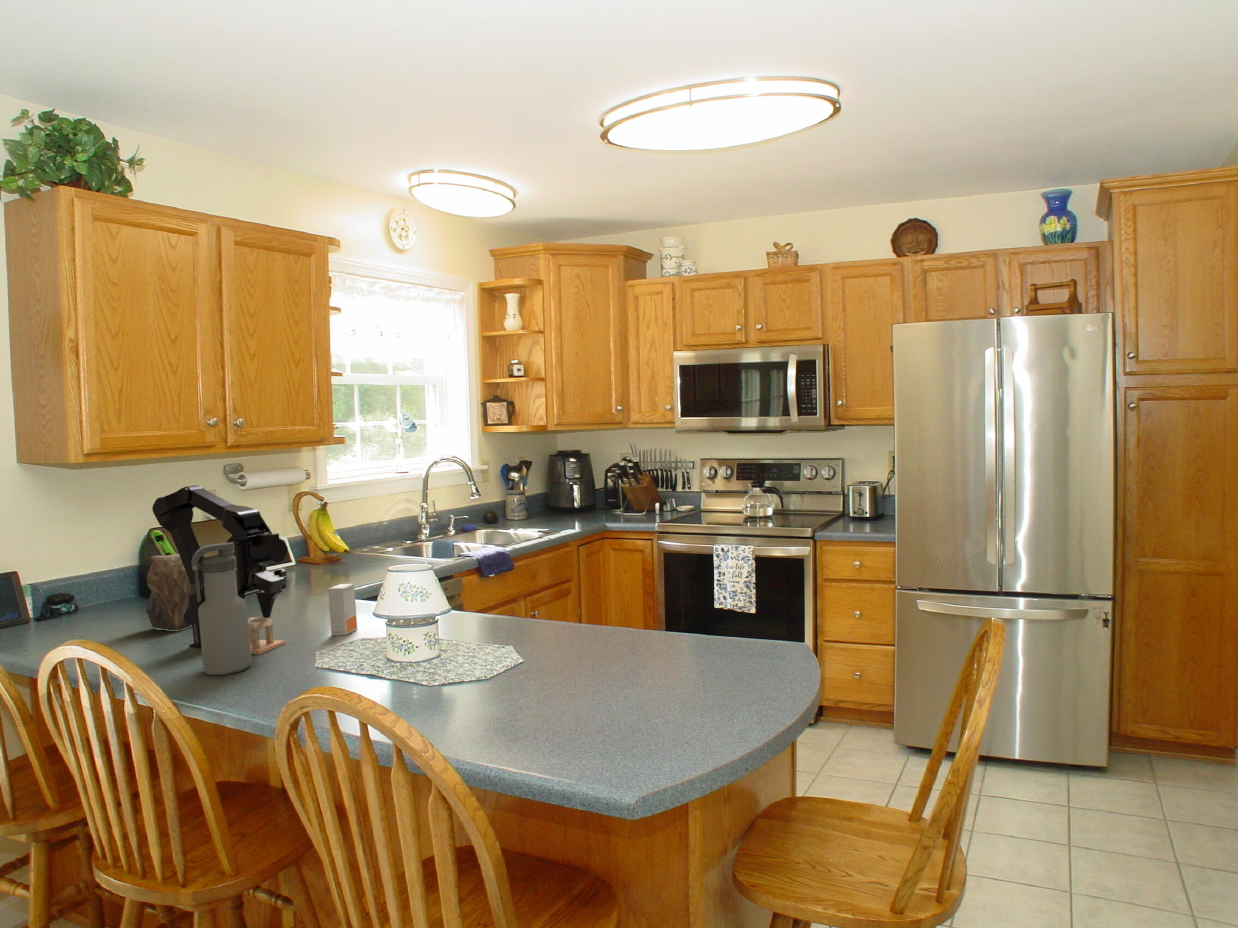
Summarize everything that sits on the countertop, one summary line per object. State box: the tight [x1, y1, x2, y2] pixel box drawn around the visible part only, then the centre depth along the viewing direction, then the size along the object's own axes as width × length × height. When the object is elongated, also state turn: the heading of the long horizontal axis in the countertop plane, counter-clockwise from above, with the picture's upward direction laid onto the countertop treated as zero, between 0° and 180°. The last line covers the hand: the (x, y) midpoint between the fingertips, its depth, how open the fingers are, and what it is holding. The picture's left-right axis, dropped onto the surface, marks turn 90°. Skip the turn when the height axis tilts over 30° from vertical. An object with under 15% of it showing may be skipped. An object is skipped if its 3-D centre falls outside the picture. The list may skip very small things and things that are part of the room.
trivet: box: [250, 639, 286, 655], centre depth 210 cm, size 10×9×1 cm
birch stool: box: [248, 617, 275, 649], centre depth 210 cm, size 6×6×6 cm
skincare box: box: [327, 583, 358, 636], centre depth 220 cm, size 6×4×12 cm
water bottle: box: [192, 542, 252, 676], centre depth 192 cm, size 10×10×28 cm
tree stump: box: [145, 553, 192, 630], centre depth 240 cm, size 13×13×20 cm
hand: (253, 625), depth 209 cm, fingers open, 9 cm apart
